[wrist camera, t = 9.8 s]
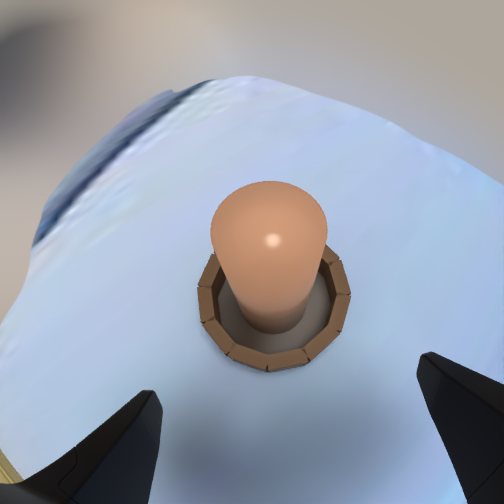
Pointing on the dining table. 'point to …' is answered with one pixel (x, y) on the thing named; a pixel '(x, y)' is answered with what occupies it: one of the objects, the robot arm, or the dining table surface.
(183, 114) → the dining table surface
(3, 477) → the decorative clock
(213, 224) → the terracotta canister
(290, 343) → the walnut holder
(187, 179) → the dining table surface
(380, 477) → the dining table surface
